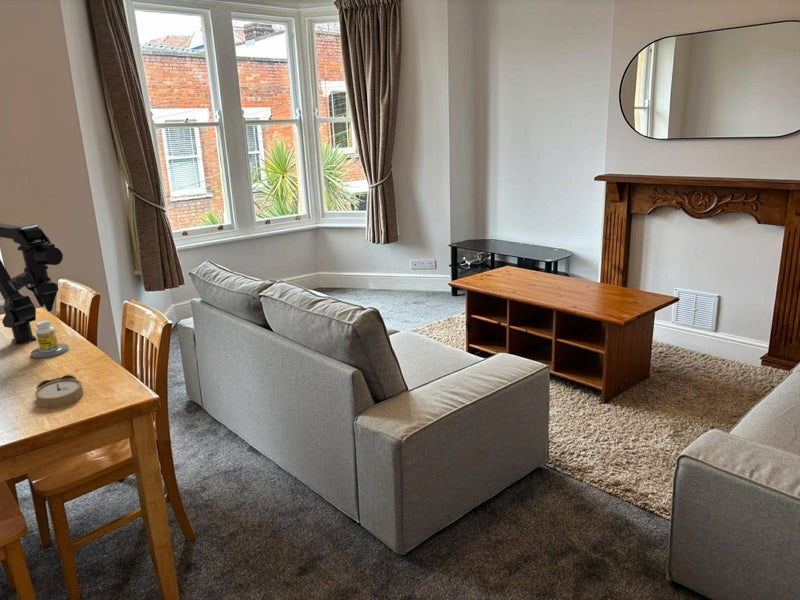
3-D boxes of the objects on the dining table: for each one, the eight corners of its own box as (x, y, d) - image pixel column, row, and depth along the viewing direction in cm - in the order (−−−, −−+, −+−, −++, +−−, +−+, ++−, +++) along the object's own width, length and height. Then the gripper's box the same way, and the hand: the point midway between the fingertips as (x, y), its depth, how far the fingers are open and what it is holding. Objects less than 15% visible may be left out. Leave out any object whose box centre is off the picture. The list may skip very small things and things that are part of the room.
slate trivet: (27, 353, 202) (26, 350, 202) (63, 343, 209) (62, 341, 209) (36, 361, 194) (35, 358, 194) (73, 351, 201) (72, 348, 201)
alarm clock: (36, 403, 158) (31, 375, 169) (40, 419, 160) (34, 390, 171) (84, 391, 164) (75, 365, 175) (87, 406, 166) (79, 379, 177)
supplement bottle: (61, 346, 204) (55, 319, 201) (55, 351, 199) (48, 324, 196) (44, 347, 203) (38, 320, 200) (37, 353, 198) (30, 325, 195)
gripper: (0, 264, 201) (12, 309, 206) (14, 272, 188) (25, 320, 193) (38, 258, 209) (48, 301, 213) (53, 265, 195) (64, 311, 200)
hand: (45, 308), depth 205 cm, fingers open, 9 cm apart
